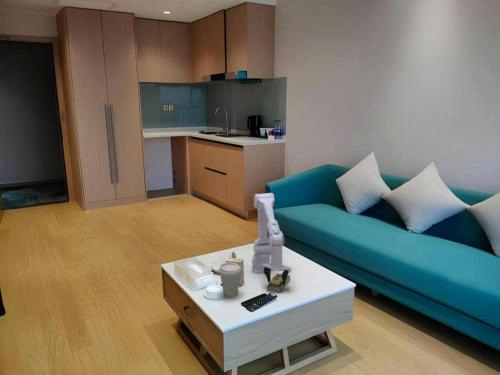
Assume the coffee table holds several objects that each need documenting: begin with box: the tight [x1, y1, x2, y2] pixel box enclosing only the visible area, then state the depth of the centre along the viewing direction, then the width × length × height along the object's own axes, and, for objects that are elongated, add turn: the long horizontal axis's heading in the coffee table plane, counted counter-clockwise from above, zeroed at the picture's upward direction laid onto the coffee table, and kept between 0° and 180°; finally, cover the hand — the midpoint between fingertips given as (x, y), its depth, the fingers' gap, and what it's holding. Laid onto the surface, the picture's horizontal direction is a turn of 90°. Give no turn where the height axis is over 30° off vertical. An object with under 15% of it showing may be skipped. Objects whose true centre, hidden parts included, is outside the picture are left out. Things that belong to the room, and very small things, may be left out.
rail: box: [266, 273, 291, 294], centre depth 194 cm, size 7×16×2 cm, turn 158°
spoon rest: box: [210, 250, 238, 274], centre depth 217 cm, size 24×12×7 cm, turn 163°
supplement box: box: [226, 257, 245, 287], centre depth 196 cm, size 8×5×13 cm, turn 71°
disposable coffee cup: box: [219, 262, 241, 299], centre depth 183 cm, size 11×11×15 cm
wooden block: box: [271, 275, 283, 287], centre depth 190 cm, size 4×4×6 cm
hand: (276, 283), depth 190 cm, fingers open, 7 cm apart
